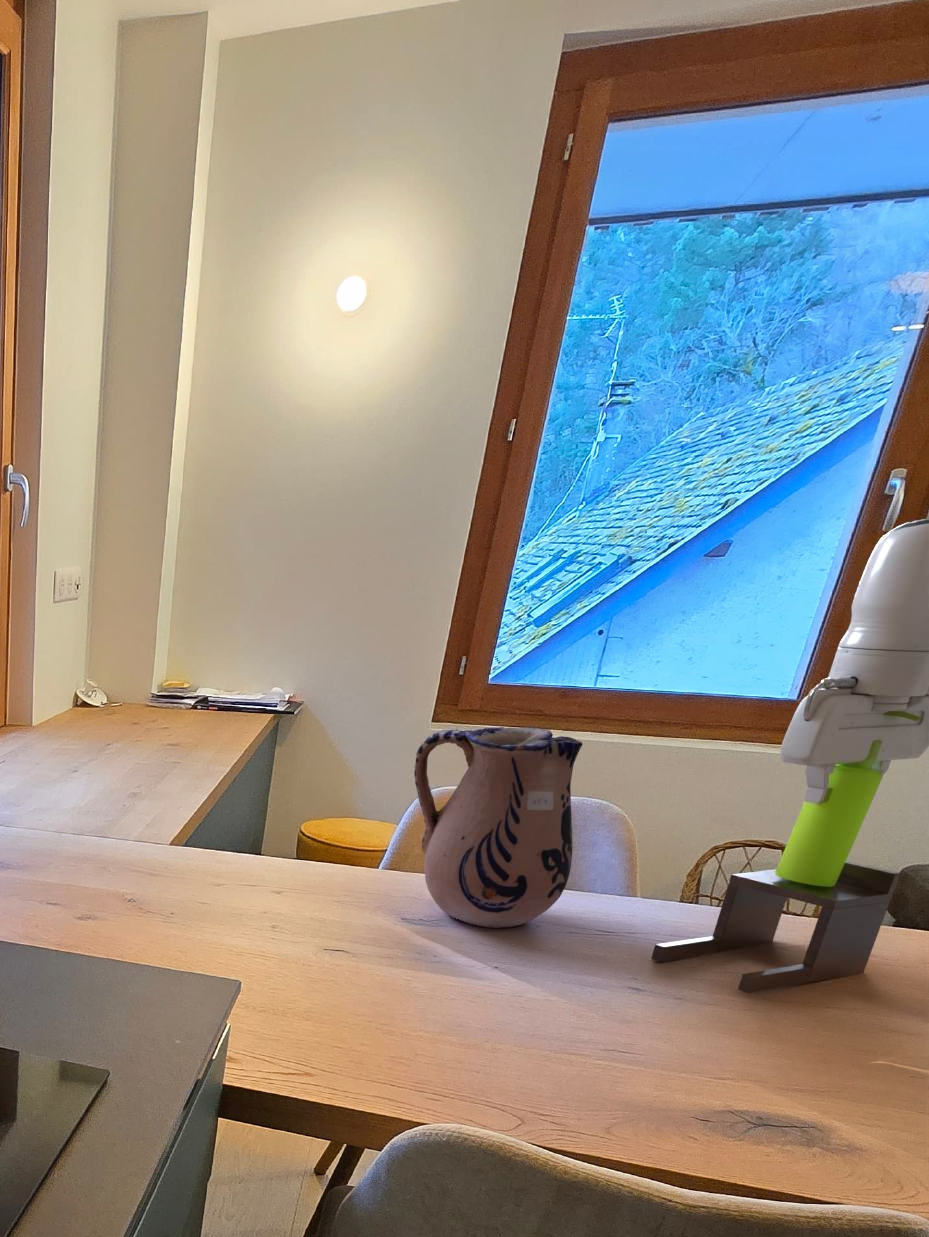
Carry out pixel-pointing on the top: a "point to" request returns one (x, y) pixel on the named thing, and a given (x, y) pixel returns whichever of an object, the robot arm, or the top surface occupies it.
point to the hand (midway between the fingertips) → (836, 800)
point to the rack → (836, 937)
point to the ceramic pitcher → (500, 825)
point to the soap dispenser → (832, 822)
